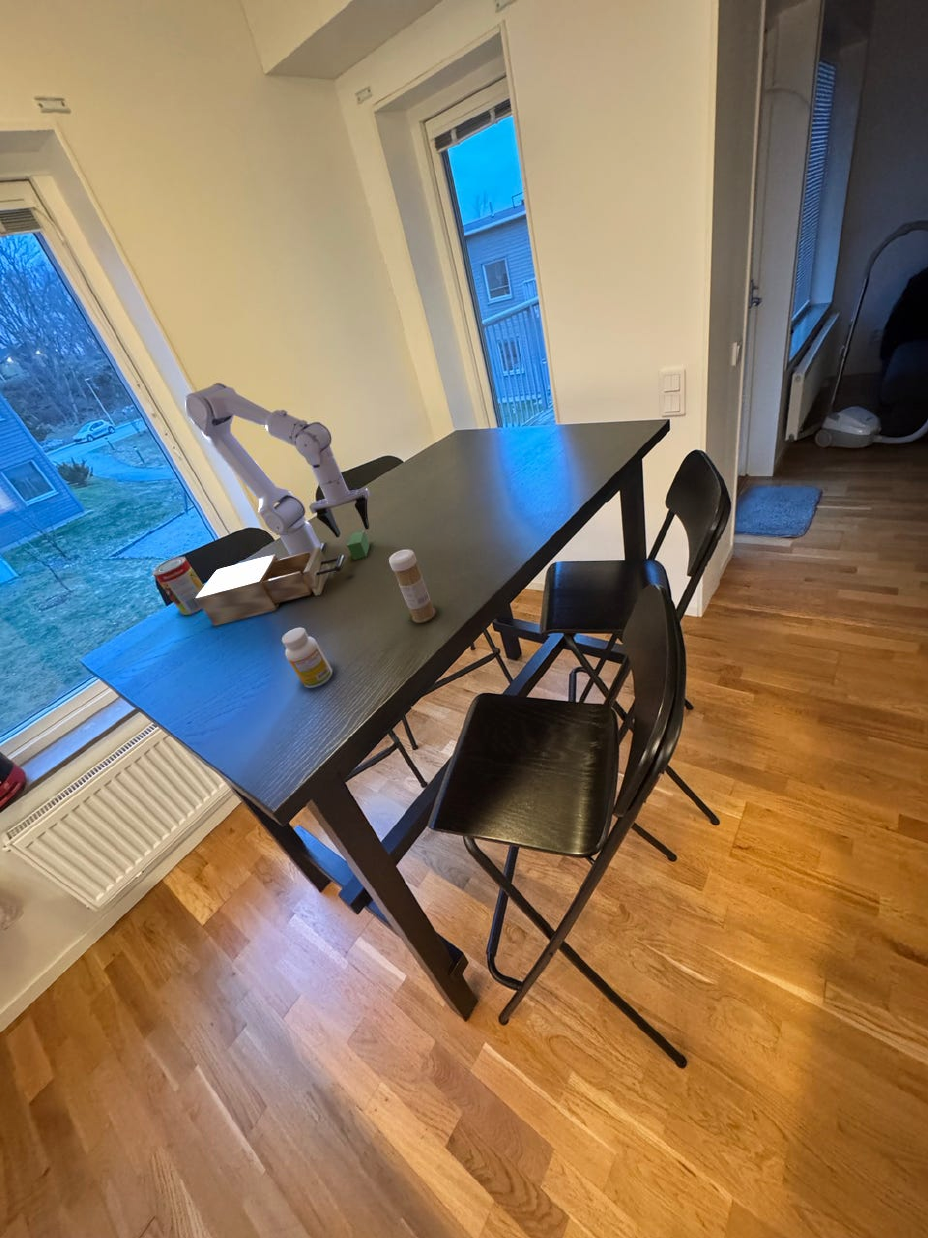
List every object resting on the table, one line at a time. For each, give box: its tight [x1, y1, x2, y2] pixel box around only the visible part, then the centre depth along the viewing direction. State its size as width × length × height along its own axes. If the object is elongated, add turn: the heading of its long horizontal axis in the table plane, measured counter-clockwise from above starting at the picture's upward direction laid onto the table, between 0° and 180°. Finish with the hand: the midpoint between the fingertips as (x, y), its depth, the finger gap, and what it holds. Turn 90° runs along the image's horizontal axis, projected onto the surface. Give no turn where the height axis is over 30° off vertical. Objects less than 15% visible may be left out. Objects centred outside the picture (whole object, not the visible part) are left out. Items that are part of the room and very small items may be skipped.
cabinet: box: [195, 553, 281, 627], centre depth 113 cm, size 15×13×8 cm
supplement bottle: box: [281, 627, 333, 689], centre depth 82 cm, size 5×5×10 cm
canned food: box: [151, 556, 205, 616], centre depth 119 cm, size 8×8×12 cm
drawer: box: [261, 547, 346, 604], centre depth 112 cm, size 20×12×6 cm, turn 92°
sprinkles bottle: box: [388, 549, 436, 624], centre depth 88 cm, size 5×5×13 cm
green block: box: [346, 529, 371, 561], centre depth 122 cm, size 7×3×4 cm, turn 2°
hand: (353, 531), depth 120 cm, fingers open, 7 cm apart
